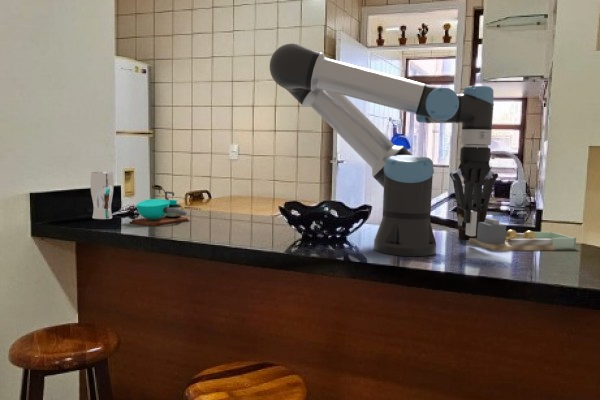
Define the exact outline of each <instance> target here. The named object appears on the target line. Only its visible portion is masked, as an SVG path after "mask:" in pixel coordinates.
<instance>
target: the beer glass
mask: <svg viewBox="0 0 600 400" xmlns="http://www.w3.org/2000/svg"><path fill="white" fill-rule="evenodd" d="M113 174H114V173H113V172H112V171H94V172H93V171H91V172H90V195H91V199H92V204H93V205H92V206H93V211H92V212H93V213H92V219H94V220H110V219H112V218H113V213H112V202H113V195H114V188H115V187H114V175H113Z"/></svg>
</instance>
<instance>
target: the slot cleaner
mask: <svg viewBox="0 0 600 400" xmlns="http://www.w3.org/2000/svg"><path fill="white" fill-rule="evenodd" d="M506 231H507V225H506V224H504V223H500V220H499V219H496V218H493V217H486V218H485V222H479V223H478V229H477V240H478V241H481V242H483V243H486V244H505V237H506Z"/></svg>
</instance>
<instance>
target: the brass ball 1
mask: <svg viewBox="0 0 600 400" xmlns="http://www.w3.org/2000/svg"><path fill="white" fill-rule="evenodd" d="M517 233H518V232H517V231H516V230H515V229H508V230H506V237H505V238H506V239H507V240H509V239H517V236H518V235H517Z"/></svg>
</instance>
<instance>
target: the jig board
mask: <svg viewBox="0 0 600 400" xmlns="http://www.w3.org/2000/svg"><path fill="white" fill-rule="evenodd" d="M524 233H525V232H523V233H522V232H517V235H518V236H517V239H509V240H507V239H506V238H505V244H486V243H483V242H481V241H478V240H477V238H469V240H468V243H470V244H473V245H475V246H476V245H477V246H478V247H480V248H481V247H482V248H484V249H488V250H490V251H555V250H556V249H555V246H554V245H552V244H553V239H524V238H523V235H524Z"/></svg>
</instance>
